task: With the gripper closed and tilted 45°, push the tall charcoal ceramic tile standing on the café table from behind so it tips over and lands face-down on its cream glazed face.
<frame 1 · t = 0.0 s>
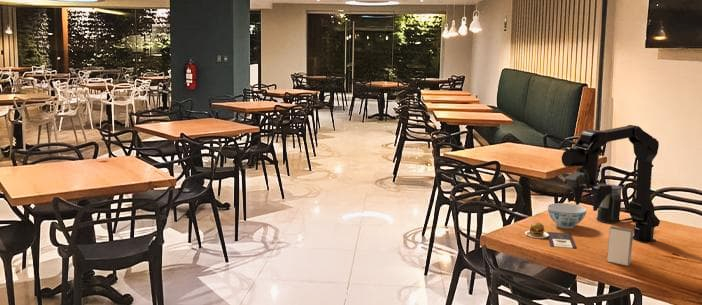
hand: (586, 207, 231), 15 cm above the table, tool pointing down, fingers open, 9 cm apart
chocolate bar: (560, 242, 241), on the table, touching hamburger
hamburger: (536, 237, 247), on the table, touching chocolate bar
ceramic tile: (618, 262, 217), on the table
chinaware: (565, 226, 260), on the table
milk frother: (618, 222, 268), on the table
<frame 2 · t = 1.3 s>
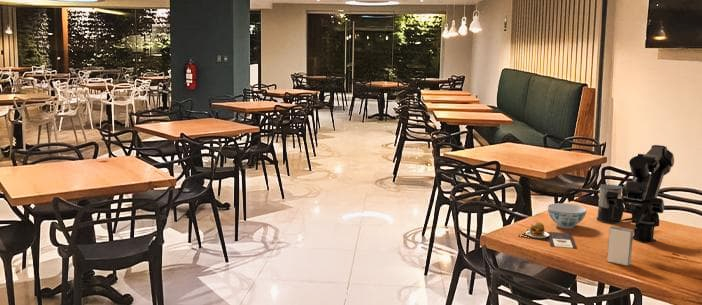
hand: (628, 221, 222), 13 cm above the table, tool tilted 45°, fingers open, 5 cm apart
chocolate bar: (561, 242, 241), on the table
hamburger: (537, 236, 247), on the table
everything else where it was.
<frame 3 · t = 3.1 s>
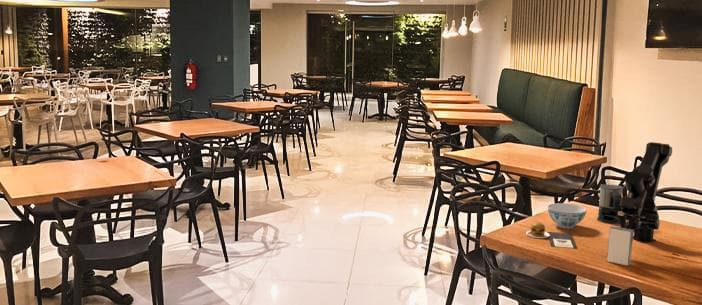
hand: (623, 238, 219), 8 cm above the table, tool tilted 45°, fingers closed
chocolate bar: (561, 242, 242), on the table, touching hamburger
hamburger: (537, 237, 247), on the table, touching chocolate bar
everything else where it was.
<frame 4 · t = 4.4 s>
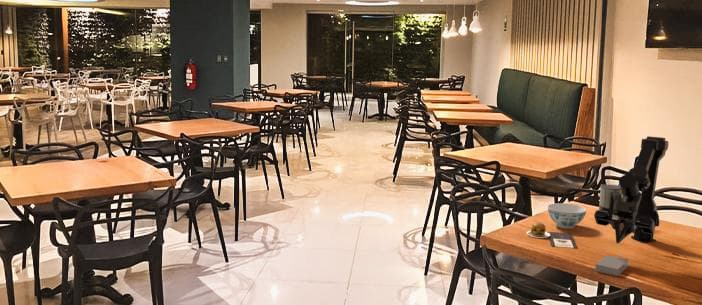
hand: (617, 242, 214), 8 cm above the table, tool tilted 45°, fingers closed
ceramic tile: (617, 260, 216), point 1 cm above the table, tilted 90°
everything else where it was.
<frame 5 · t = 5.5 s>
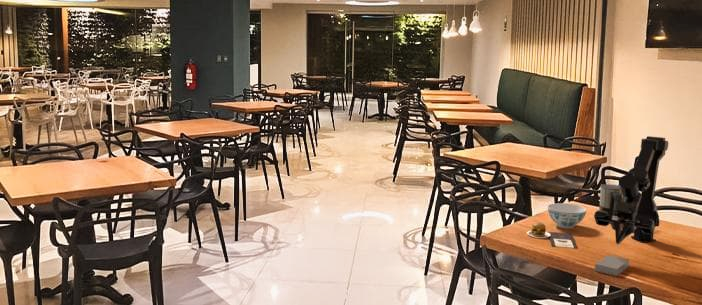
hand: (617, 243, 214), 8 cm above the table, tool tilted 45°, fingers closed
nothing on the table moved.
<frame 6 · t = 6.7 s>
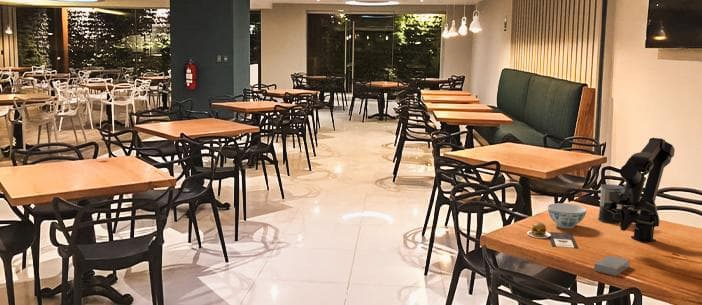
hand: (622, 230, 223), 9 cm above the table, tool tilted 30°, fingers closed
nothing on the table moved.
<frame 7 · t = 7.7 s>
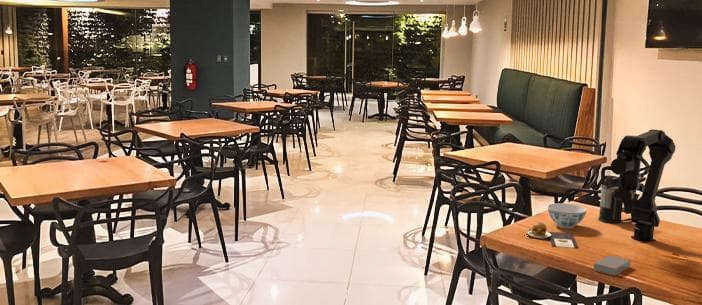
hand: (627, 213, 231), 13 cm above the table, tool pointing down, fingers closed
nothing on the table moved.
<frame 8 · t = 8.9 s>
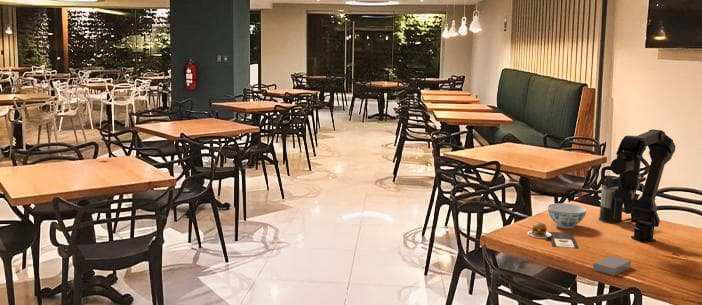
hand: (627, 213, 231), 13 cm above the table, tool pointing down, fingers closed
at the end: ceramic tile tilted 90°; ceramic tile inside the target area (1.0 cm from its centre), point 1.1 cm above the table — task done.
